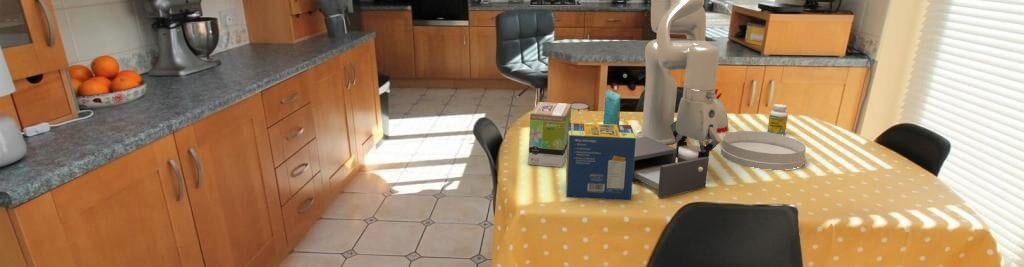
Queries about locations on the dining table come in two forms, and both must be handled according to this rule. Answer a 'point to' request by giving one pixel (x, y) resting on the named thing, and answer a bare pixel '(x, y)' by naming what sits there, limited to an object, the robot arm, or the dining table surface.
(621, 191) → the protein box
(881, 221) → the dining table surface
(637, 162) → the housing
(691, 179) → the drawer
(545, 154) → the tea box
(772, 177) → the dining table surface
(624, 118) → the dining table surface
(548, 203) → the dining table surface
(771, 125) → the supplement bottle
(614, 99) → the tube
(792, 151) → the dish
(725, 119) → the hen dome cover
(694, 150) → the disc
